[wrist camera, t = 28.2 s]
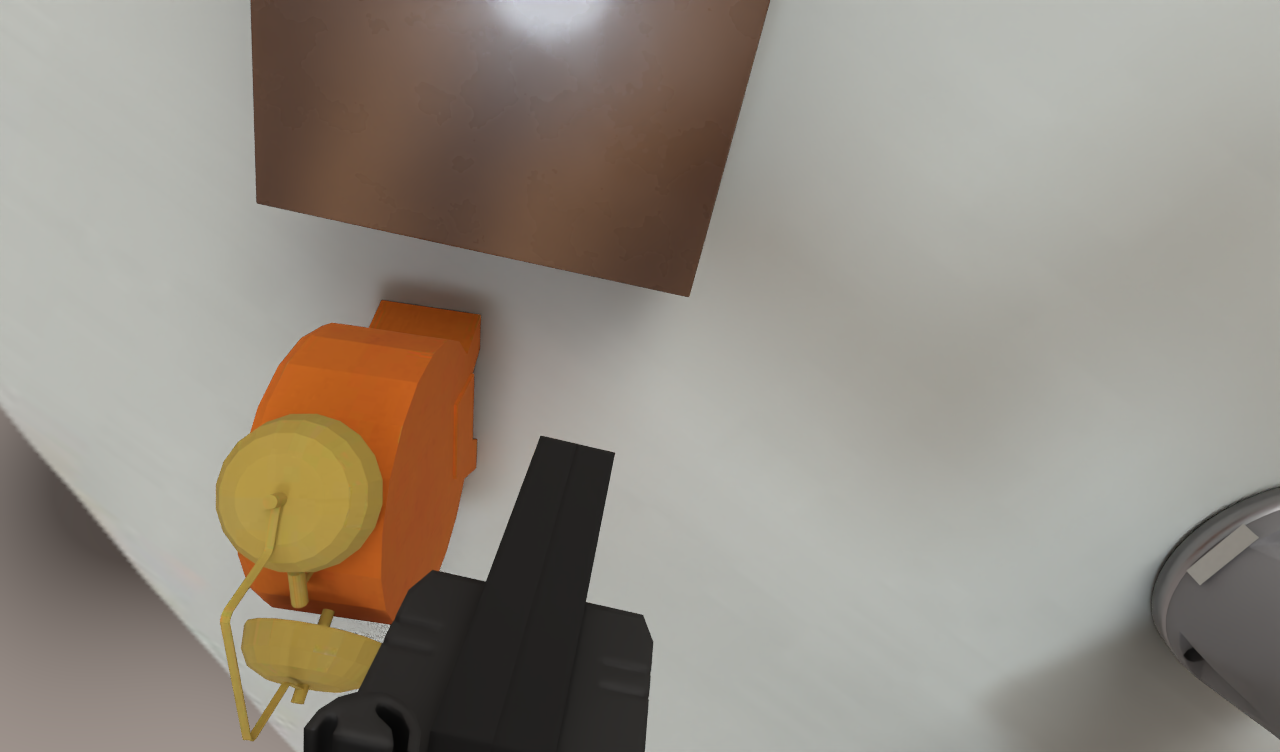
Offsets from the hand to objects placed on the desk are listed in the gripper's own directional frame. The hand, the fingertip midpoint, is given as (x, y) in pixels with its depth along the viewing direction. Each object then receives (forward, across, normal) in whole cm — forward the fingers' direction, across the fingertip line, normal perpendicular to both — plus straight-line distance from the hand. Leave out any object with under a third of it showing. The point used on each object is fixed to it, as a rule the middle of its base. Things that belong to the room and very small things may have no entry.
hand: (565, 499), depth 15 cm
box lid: (+16, +6, -6) cm, 19 cm away
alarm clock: (+24, +10, +13) cm, 29 cm away
